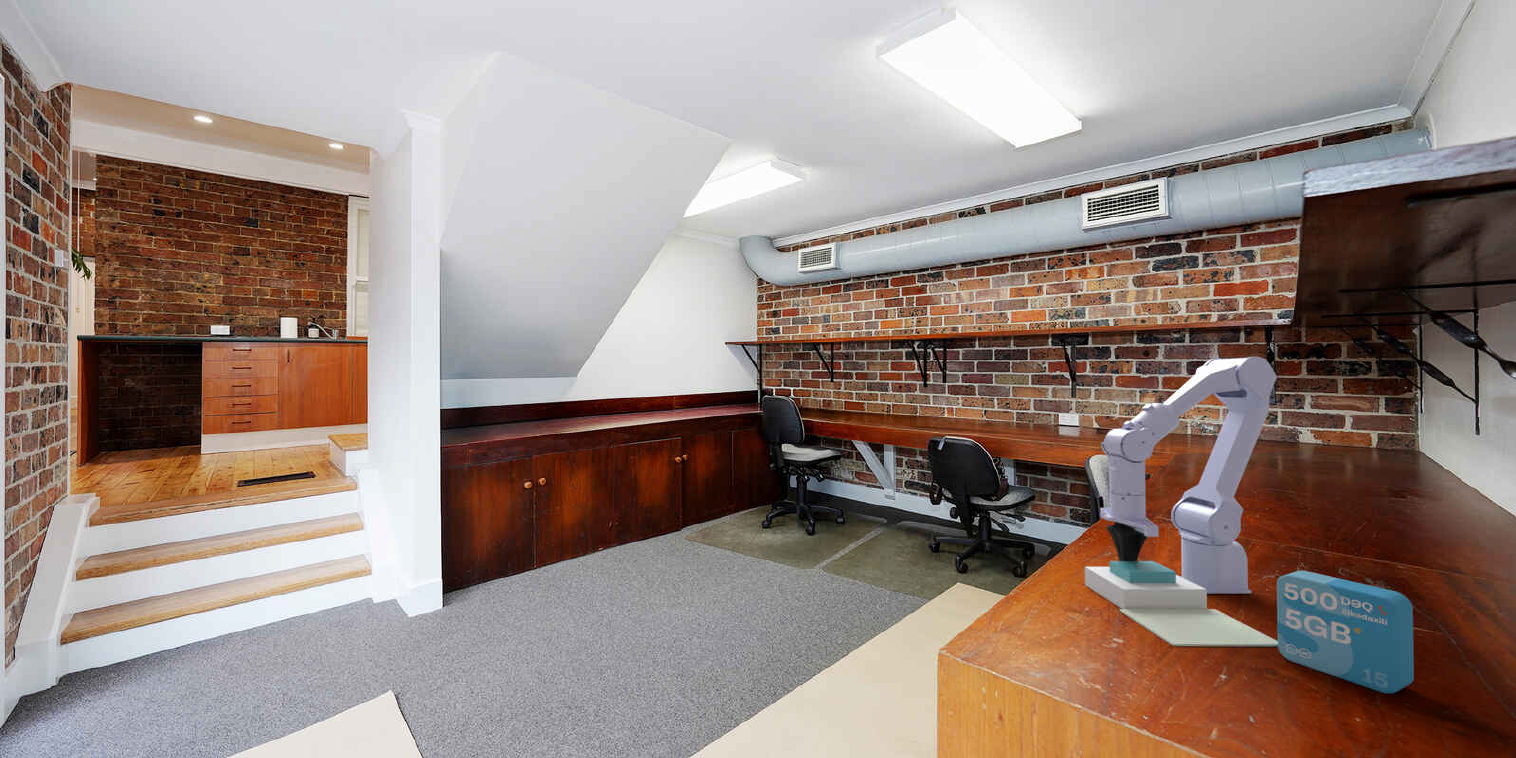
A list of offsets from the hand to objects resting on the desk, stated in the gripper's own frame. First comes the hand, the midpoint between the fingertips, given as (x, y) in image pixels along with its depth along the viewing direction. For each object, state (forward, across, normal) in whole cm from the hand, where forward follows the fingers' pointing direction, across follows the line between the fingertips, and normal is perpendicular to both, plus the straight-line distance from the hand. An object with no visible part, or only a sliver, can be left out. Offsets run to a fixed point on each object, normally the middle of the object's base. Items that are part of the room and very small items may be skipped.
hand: (1128, 565), depth 108 cm
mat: (+4, +17, 0) cm, 18 cm away
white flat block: (+4, +4, 0) cm, 6 cm away
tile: (+1, +4, 0) cm, 4 cm away
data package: (+5, +31, +9) cm, 33 cm away
